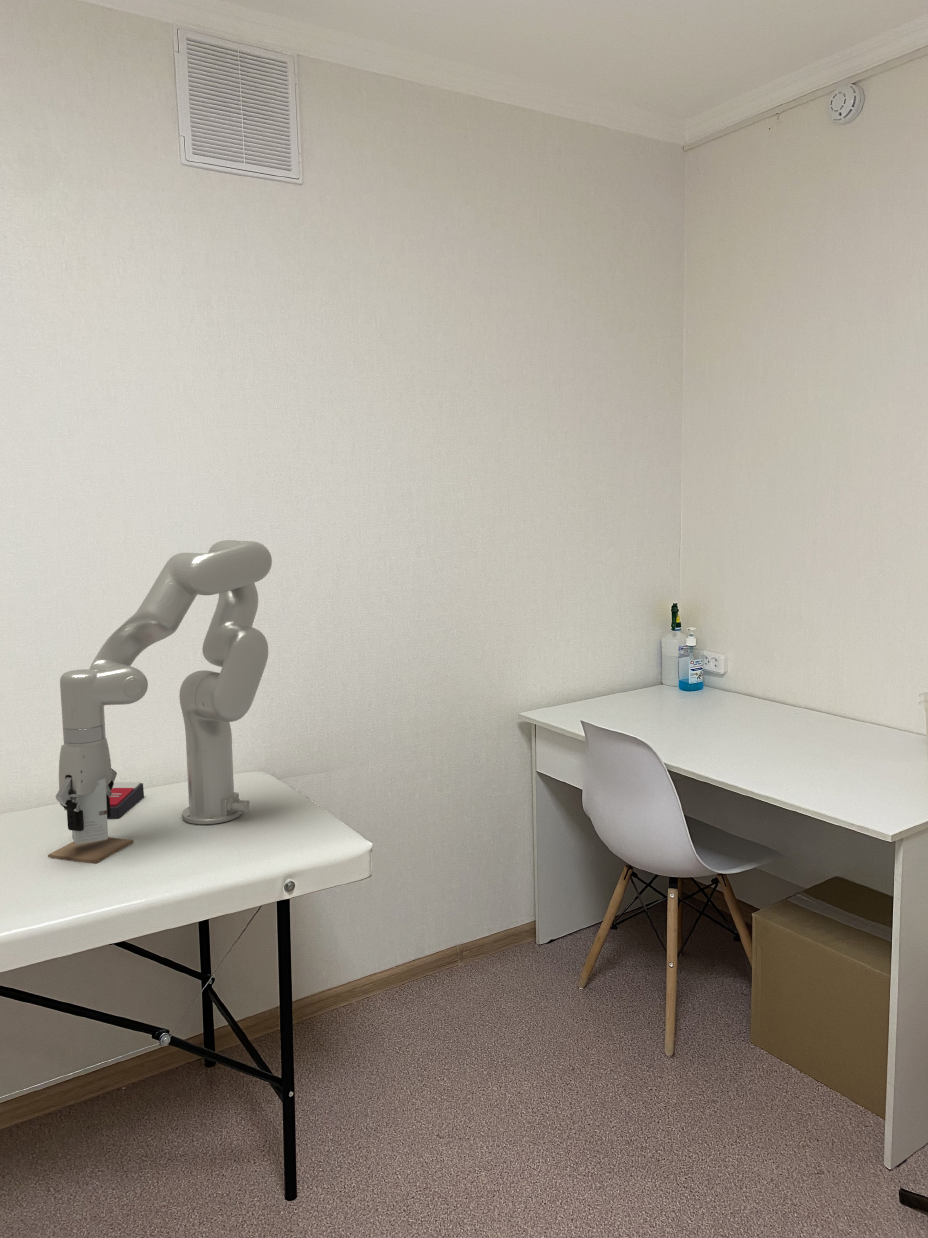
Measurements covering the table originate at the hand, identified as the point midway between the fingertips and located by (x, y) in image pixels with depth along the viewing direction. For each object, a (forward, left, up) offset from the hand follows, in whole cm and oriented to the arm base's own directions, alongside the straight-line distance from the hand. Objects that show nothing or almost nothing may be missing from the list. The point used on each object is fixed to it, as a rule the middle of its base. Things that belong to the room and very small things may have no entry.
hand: (89, 822), depth 179 cm
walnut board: (0, 0, -6) cm, 6 cm away
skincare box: (0, 0, -4) cm, 4 cm away
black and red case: (+14, -23, -6) cm, 27 cm away
